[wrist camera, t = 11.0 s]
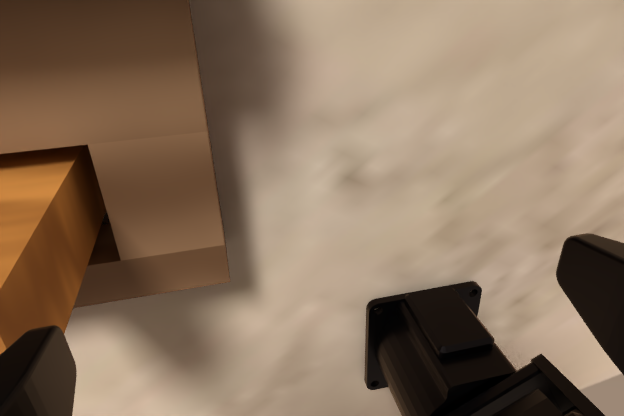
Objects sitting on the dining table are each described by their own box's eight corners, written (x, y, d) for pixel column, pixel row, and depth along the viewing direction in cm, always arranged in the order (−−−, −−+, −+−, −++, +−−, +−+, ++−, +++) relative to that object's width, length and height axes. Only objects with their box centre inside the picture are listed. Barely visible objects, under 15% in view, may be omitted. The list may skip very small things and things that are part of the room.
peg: (107, 208, 19) (36, 413, 10) (27, 217, 18) (-116, 443, 10) (87, 138, 18) (-13, 310, 9) (1, 147, 17) (-195, 339, 8)
